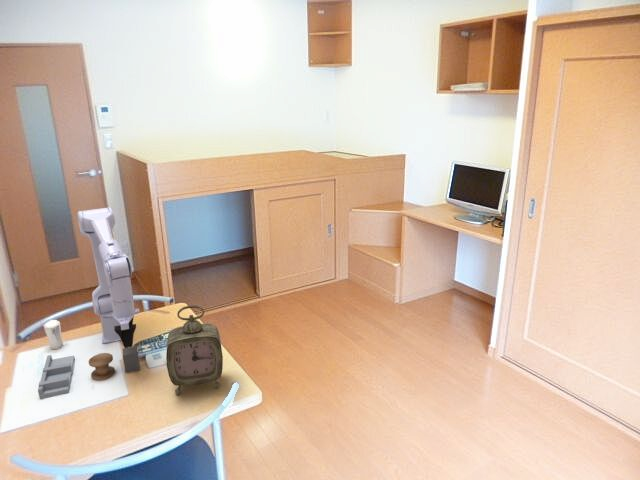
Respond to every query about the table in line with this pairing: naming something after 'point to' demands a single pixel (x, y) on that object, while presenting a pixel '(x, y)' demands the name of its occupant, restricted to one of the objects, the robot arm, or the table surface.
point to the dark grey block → (131, 359)
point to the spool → (102, 366)
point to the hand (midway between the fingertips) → (128, 340)
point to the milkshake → (53, 333)
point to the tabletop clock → (194, 352)
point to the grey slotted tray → (56, 376)
